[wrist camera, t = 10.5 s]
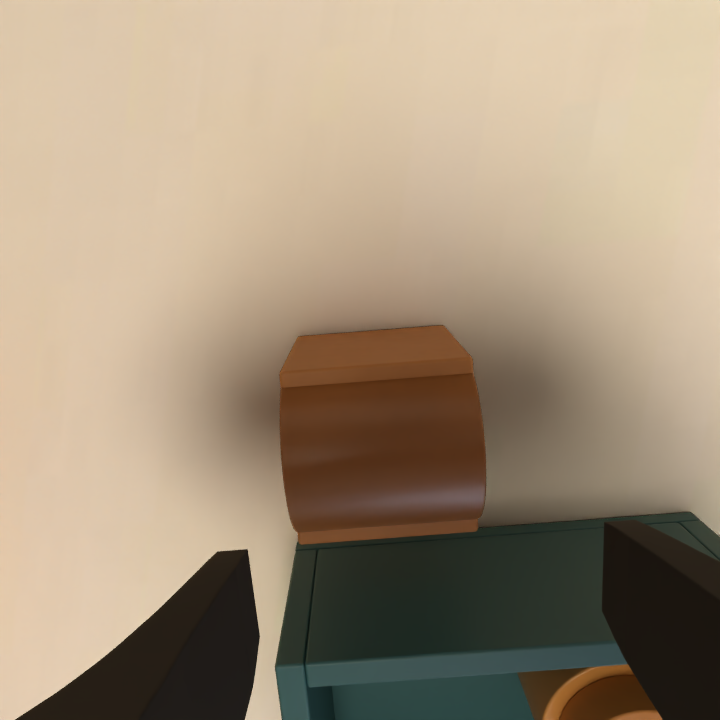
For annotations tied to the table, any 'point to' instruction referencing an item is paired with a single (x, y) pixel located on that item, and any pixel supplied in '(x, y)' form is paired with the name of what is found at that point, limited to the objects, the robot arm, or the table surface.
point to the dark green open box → (449, 619)
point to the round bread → (587, 694)
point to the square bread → (381, 436)
